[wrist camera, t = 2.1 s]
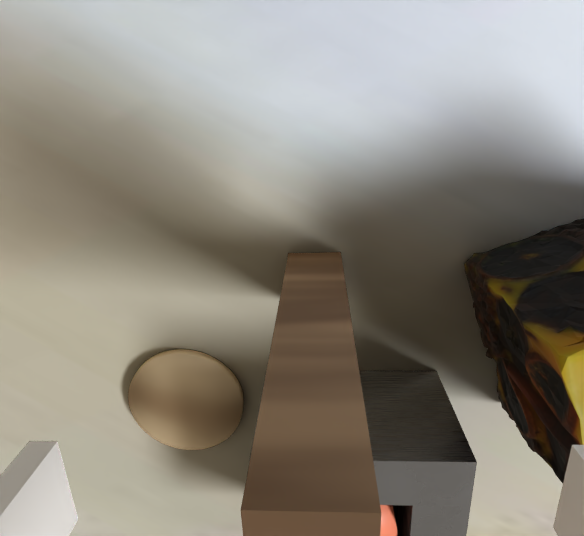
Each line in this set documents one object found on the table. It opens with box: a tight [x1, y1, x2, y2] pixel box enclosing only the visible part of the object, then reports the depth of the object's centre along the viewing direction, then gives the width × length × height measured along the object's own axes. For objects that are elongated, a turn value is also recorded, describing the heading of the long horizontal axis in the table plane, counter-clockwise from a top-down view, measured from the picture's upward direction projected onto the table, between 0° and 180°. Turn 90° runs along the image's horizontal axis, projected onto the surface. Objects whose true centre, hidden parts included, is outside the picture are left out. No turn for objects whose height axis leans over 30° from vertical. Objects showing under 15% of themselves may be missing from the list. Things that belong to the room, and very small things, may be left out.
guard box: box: [250, 371, 477, 536], centre depth 25 cm, size 10×10×7 cm
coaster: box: [128, 349, 244, 450], centre depth 27 cm, size 7×7×1 cm
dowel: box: [241, 252, 381, 536], centre depth 17 cm, size 3×3×16 cm
